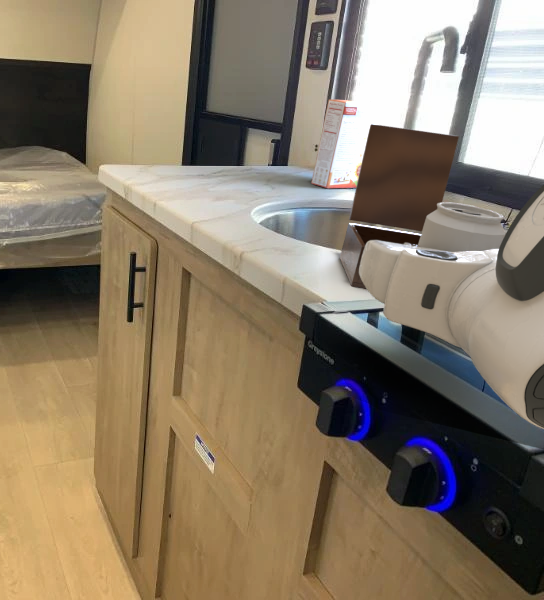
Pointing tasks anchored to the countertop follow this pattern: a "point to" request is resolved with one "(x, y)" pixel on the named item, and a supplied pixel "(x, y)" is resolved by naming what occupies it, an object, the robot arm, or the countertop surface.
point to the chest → (359, 238)
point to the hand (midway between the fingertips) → (450, 257)
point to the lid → (402, 176)
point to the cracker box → (344, 142)
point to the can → (462, 228)
